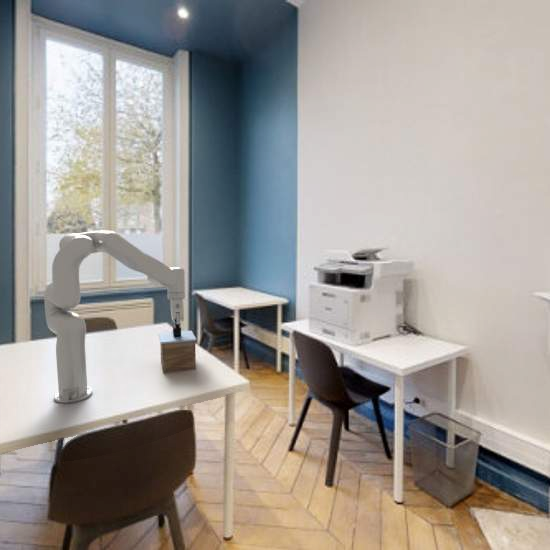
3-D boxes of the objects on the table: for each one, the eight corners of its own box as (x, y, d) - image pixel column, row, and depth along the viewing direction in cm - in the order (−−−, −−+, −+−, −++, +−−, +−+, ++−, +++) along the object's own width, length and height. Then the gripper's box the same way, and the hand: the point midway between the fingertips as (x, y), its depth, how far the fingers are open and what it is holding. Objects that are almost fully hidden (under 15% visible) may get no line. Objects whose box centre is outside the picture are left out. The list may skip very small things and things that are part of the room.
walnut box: (195, 369, 173) (195, 340, 172) (163, 372, 169) (162, 343, 167) (191, 358, 187) (190, 332, 185) (160, 362, 182) (160, 335, 180)
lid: (196, 340, 171) (196, 326, 171) (160, 344, 166) (160, 329, 166) (191, 332, 185) (191, 319, 185) (158, 334, 180) (158, 321, 180)
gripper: (187, 298, 167) (187, 339, 169) (182, 291, 182) (183, 330, 185) (169, 298, 165) (169, 341, 167) (166, 292, 180) (166, 331, 182)
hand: (176, 335), depth 176 cm, fingers closed on lid, 3 cm apart
